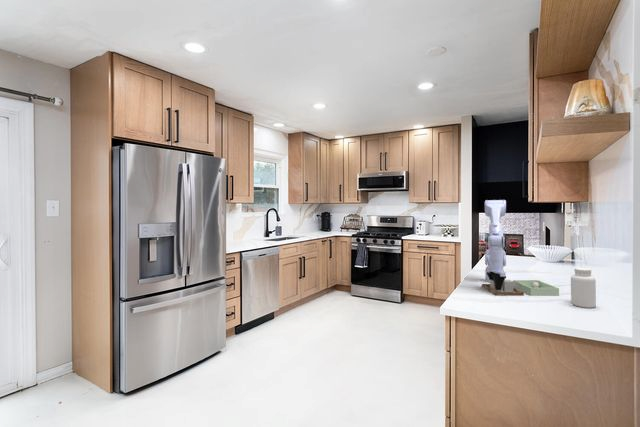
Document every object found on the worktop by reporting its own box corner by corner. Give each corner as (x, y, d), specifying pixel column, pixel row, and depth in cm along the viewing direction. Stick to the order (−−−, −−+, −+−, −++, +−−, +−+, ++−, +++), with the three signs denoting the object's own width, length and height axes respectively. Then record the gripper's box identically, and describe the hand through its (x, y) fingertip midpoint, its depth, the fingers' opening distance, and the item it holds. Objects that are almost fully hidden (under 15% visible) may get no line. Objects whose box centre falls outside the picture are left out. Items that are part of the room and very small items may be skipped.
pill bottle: (569, 301, 140) (569, 266, 139) (593, 304, 135) (593, 268, 135) (572, 306, 133) (572, 269, 132) (597, 309, 129) (597, 271, 128)
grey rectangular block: (490, 290, 158) (489, 279, 158) (498, 290, 158) (498, 279, 158) (493, 292, 154) (493, 281, 154) (502, 292, 154) (502, 281, 154)
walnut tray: (481, 287, 164) (481, 283, 164) (506, 288, 163) (506, 284, 163) (496, 296, 148) (496, 292, 148) (523, 296, 147) (523, 292, 147)
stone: (500, 290, 158) (500, 279, 158) (509, 290, 158) (509, 279, 157) (504, 292, 154) (504, 281, 154) (513, 292, 154) (513, 281, 153)
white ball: (530, 287, 161) (530, 281, 161) (537, 287, 161) (537, 281, 161) (534, 288, 158) (534, 282, 158) (540, 288, 158) (540, 282, 158)
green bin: (512, 288, 163) (512, 280, 163) (538, 288, 162) (538, 280, 162) (530, 296, 147) (530, 288, 147) (559, 297, 146) (559, 288, 146)
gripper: (481, 257, 163) (481, 284, 164) (494, 262, 149) (494, 292, 149) (495, 257, 163) (495, 284, 163) (510, 262, 148) (510, 292, 149)
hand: (496, 288), depth 156 cm, fingers closed on grey rectangular block, 4 cm apart
